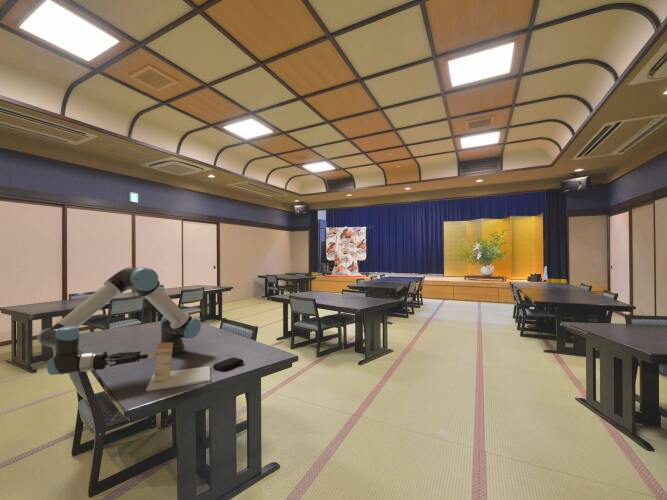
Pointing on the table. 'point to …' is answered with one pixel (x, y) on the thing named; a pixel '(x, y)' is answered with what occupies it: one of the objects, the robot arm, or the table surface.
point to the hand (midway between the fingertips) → (156, 354)
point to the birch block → (163, 361)
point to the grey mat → (181, 378)
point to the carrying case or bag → (228, 364)
